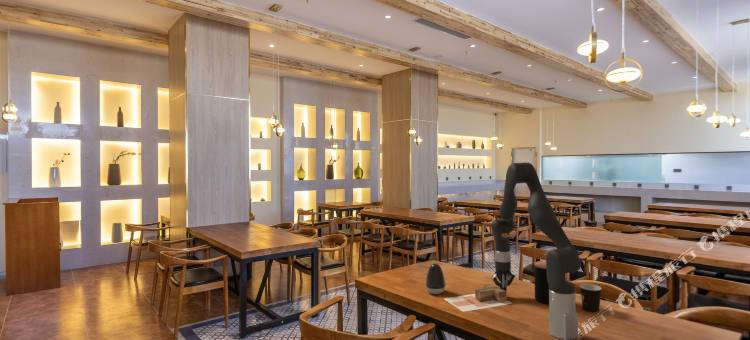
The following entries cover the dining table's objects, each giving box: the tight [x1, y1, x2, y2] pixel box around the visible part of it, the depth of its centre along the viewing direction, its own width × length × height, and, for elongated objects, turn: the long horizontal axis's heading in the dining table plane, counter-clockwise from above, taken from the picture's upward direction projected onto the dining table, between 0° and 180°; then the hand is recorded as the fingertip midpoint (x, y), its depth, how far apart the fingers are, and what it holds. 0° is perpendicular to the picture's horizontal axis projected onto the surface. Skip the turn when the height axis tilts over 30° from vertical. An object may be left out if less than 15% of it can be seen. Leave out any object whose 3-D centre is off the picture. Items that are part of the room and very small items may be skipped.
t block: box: [474, 283, 507, 303], centre depth 189 cm, size 12×12×5 cm
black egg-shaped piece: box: [425, 263, 446, 295], centre depth 201 cm, size 10×10×15 cm
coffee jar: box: [533, 260, 549, 306], centre depth 186 cm, size 11×11×18 cm
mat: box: [443, 293, 514, 313], centre depth 187 cm, size 18×27×1 cm, turn 109°
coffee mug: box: [579, 283, 603, 313], centre depth 176 cm, size 12×9×10 cm
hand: (503, 294), depth 192 cm, fingers closed
